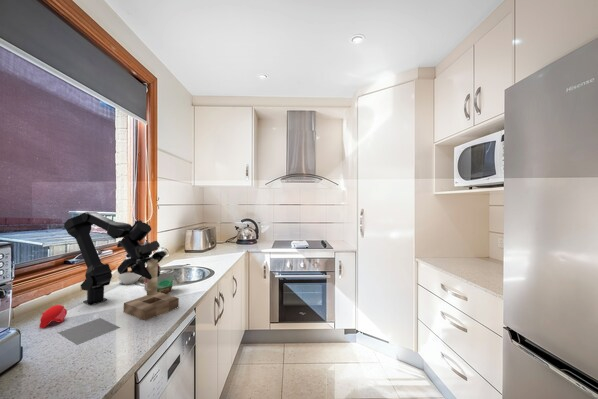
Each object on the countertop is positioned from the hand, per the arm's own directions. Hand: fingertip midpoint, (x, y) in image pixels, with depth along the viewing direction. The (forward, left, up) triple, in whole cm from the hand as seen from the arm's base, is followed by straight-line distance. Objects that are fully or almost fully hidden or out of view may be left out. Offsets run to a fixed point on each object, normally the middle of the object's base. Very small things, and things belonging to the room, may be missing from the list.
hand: (155, 277), depth 100 cm
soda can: (-25, +15, -14) cm, 32 cm away
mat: (-3, -20, -13) cm, 24 cm away
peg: (-1, 0, -7) cm, 7 cm away
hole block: (-1, 0, -13) cm, 14 cm away
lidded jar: (-45, +14, -14) cm, 49 cm away
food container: (-14, +14, -14) cm, 24 cm away
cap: (-20, -24, -14) cm, 35 cm away
